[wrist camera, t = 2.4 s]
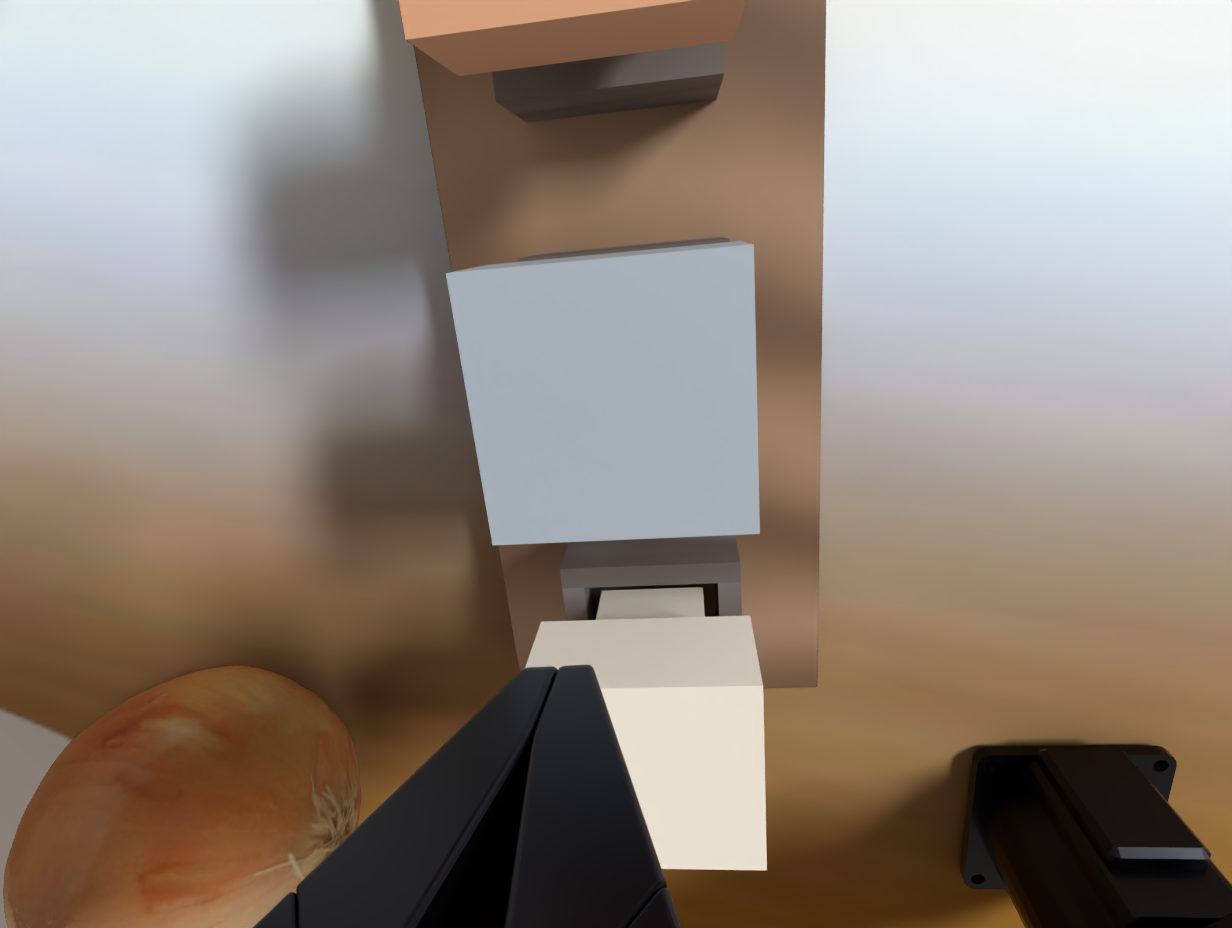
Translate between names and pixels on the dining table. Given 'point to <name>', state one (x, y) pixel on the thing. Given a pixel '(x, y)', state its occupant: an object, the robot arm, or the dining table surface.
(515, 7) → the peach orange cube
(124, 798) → the onion
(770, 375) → the walnut button board
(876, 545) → the dining table surface
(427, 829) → the robot arm
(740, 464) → the slate button
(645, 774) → the cream button
